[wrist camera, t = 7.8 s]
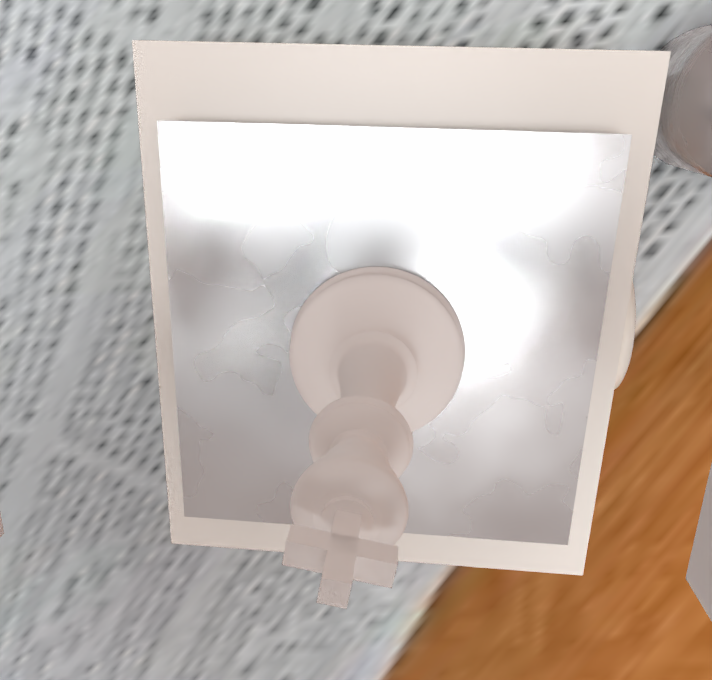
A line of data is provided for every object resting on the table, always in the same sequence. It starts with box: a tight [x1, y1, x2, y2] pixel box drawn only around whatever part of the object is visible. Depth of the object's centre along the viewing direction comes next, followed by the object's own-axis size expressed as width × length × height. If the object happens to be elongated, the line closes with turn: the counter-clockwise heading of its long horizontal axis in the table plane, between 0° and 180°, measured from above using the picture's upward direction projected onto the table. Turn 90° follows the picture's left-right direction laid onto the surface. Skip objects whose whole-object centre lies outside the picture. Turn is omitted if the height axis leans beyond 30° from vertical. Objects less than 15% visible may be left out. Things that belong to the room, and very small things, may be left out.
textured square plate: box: [157, 120, 632, 545], centre depth 19 cm, size 12×12×1 cm
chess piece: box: [282, 267, 465, 609], centre depth 14 cm, size 5×5×10 cm
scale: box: [132, 40, 671, 575], centre depth 22 cm, size 14×16×5 cm
